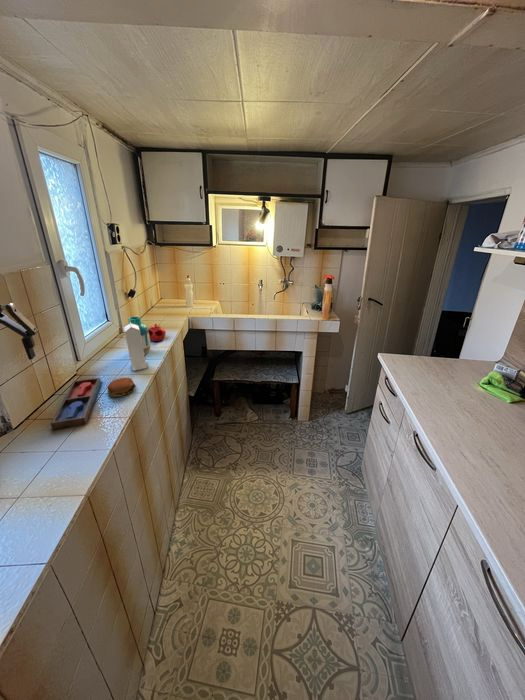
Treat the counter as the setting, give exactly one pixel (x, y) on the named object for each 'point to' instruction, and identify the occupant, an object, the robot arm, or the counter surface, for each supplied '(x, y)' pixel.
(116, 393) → the burger
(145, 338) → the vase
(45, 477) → the counter surface
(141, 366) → the milk
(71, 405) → the blue spoon
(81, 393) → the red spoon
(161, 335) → the pomegranate
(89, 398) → the tray
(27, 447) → the counter surface
